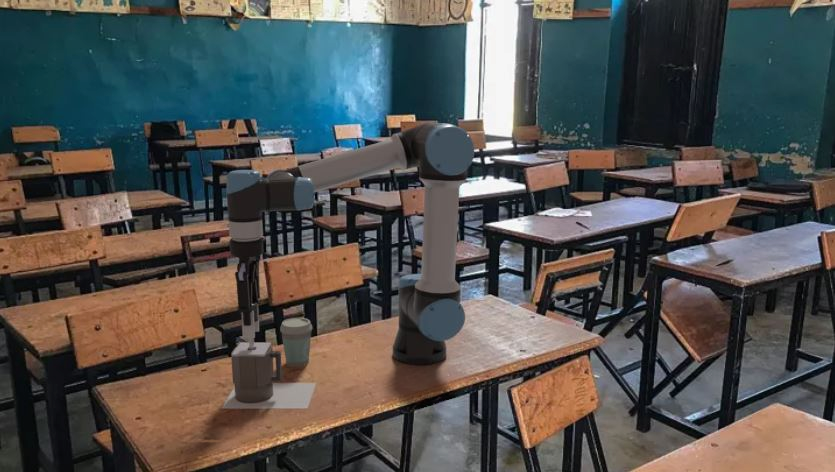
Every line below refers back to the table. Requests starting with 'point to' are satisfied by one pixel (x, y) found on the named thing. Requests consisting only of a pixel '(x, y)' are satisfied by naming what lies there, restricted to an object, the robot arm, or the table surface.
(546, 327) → the table surface
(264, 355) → the grey french press
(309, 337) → the coffee cup
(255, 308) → the plunger
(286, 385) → the mat
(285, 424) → the table surface
